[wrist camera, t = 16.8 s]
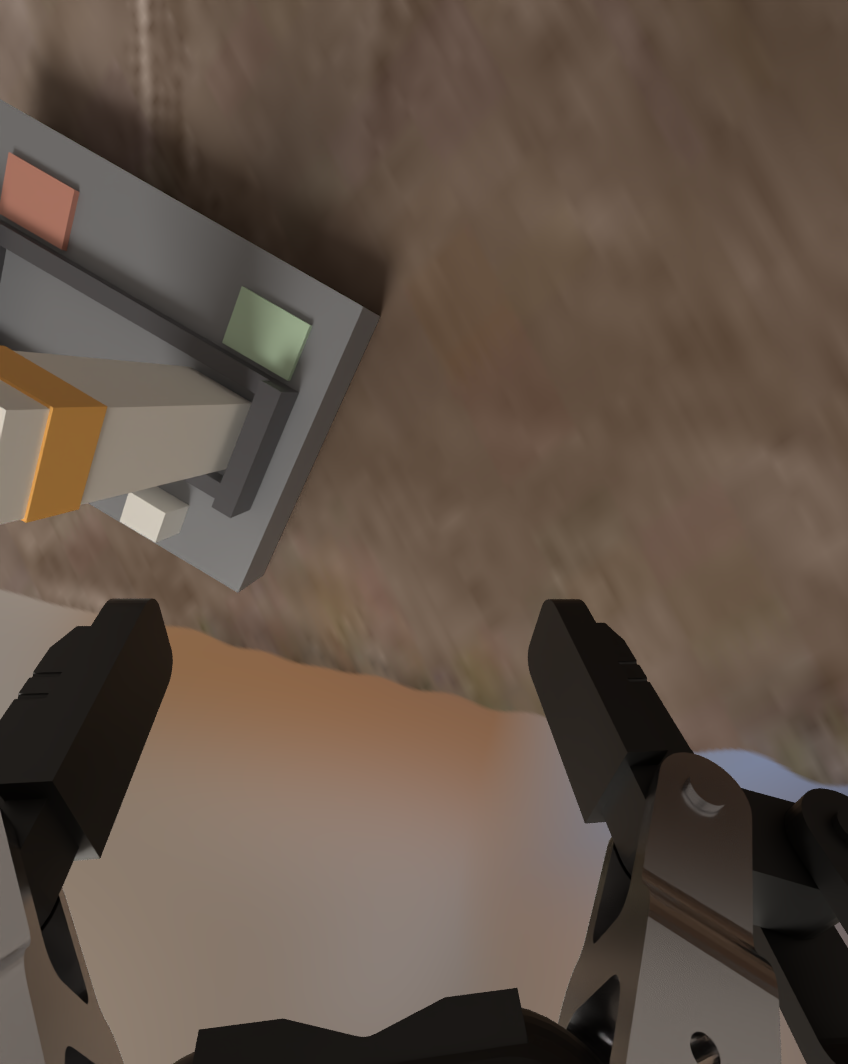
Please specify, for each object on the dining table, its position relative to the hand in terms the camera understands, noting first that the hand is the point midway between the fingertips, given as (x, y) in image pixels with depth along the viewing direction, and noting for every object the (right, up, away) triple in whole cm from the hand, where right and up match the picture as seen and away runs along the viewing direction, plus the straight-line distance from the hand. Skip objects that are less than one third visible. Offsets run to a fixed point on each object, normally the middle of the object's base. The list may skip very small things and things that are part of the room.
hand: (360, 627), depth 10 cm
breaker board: (-15, +12, +19) cm, 27 cm away
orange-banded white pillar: (-10, +8, +16) cm, 21 cm away
